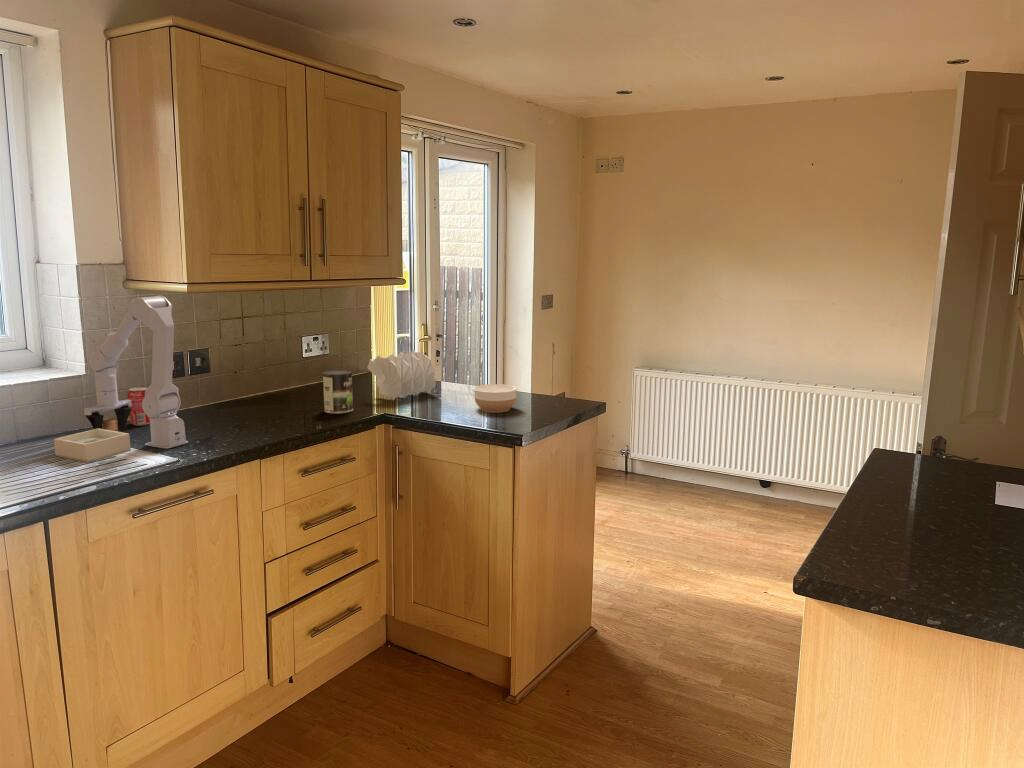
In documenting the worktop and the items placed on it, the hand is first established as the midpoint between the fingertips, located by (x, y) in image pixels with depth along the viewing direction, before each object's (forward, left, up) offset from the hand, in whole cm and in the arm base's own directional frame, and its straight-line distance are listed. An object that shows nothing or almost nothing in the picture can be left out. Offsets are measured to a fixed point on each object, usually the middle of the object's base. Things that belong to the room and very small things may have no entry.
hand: (110, 433), depth 233 cm
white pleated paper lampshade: (-44, -95, -2) cm, 105 cm away
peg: (0, 0, -2) cm, 2 cm away
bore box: (-10, +13, -2) cm, 16 cm away
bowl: (-86, -91, -2) cm, 125 cm away
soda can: (+8, -17, -2) cm, 19 cm away
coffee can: (-37, -63, -2) cm, 73 cm away
